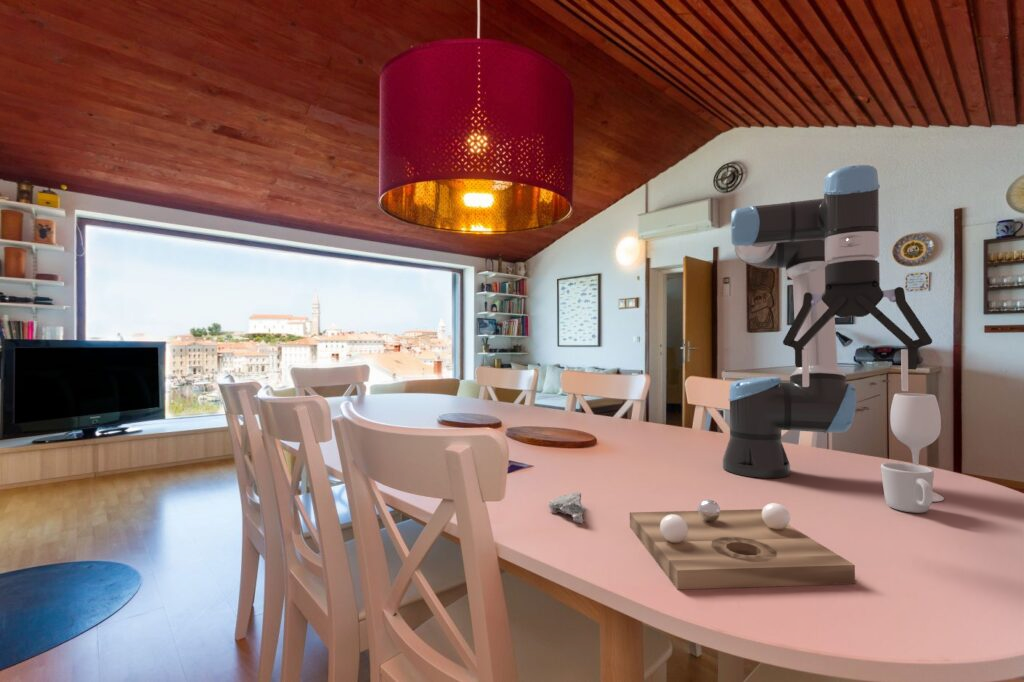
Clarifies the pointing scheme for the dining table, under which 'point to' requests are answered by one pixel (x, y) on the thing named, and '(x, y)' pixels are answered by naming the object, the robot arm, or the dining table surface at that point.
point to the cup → (907, 486)
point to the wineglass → (916, 423)
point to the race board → (739, 552)
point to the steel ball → (709, 510)
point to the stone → (569, 506)
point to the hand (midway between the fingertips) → (852, 388)
